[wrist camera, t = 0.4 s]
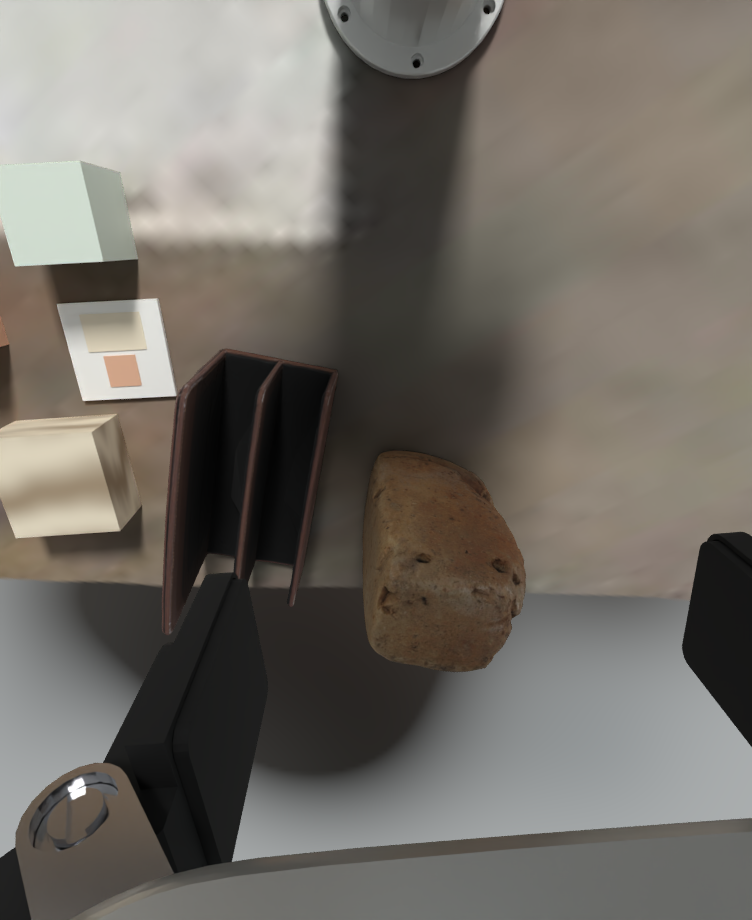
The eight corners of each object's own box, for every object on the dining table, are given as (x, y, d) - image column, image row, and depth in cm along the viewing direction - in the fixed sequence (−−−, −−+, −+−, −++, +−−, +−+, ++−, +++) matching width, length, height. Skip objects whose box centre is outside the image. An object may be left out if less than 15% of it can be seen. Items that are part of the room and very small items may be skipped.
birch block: (16, 420, 46) (-22, 440, 41) (118, 413, 46) (91, 432, 41) (48, 510, 50) (15, 538, 45) (143, 503, 49) (120, 531, 45)
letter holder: (204, 546, 51) (149, 649, 38) (222, 345, 44) (162, 389, 31) (305, 561, 52) (285, 668, 39) (339, 368, 45) (329, 420, 32)
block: (357, 510, 50) (354, 667, 31) (374, 438, 47) (381, 564, 29) (466, 530, 51) (525, 693, 33) (489, 460, 48) (567, 596, 30)
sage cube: (39, 176, 39) (-15, 165, 33) (120, 172, 39) (79, 160, 33) (62, 263, 41) (15, 266, 36) (138, 259, 41) (103, 261, 36)
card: (59, 303, 42) (55, 304, 42) (158, 298, 42) (156, 298, 42) (85, 399, 45) (82, 401, 45) (177, 394, 45) (175, 396, 45)
